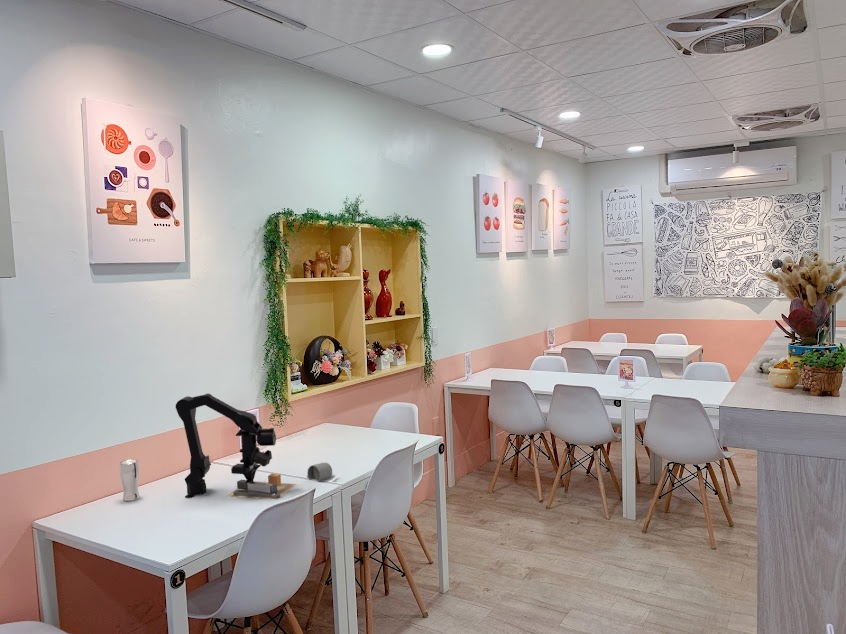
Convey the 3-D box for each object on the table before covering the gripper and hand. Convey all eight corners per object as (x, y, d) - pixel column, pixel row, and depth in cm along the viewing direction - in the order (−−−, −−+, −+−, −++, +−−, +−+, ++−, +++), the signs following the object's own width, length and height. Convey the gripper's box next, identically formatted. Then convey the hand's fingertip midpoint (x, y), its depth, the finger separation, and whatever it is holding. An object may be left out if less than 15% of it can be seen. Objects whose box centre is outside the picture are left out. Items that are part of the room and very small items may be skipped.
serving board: (225, 499, 253) (225, 496, 253) (249, 483, 270) (249, 481, 270) (277, 502, 248) (276, 499, 247) (297, 486, 265) (297, 484, 265)
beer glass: (133, 502, 252) (131, 464, 251) (117, 501, 254) (115, 464, 253) (144, 496, 259) (142, 459, 258) (129, 495, 261) (126, 458, 260)
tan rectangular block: (268, 485, 264) (268, 475, 263) (272, 483, 267) (271, 473, 266) (277, 486, 263) (277, 476, 262) (280, 483, 266) (280, 474, 265)
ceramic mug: (334, 479, 273) (333, 461, 272) (320, 485, 266) (319, 466, 266) (316, 476, 279) (315, 458, 279) (302, 481, 272) (301, 463, 272)
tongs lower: (281, 495, 252) (281, 483, 251) (277, 498, 248) (276, 486, 248) (237, 492, 256) (237, 480, 256) (232, 495, 253) (232, 483, 253)
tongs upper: (274, 491, 252) (274, 483, 252) (270, 493, 250) (269, 486, 249) (241, 486, 258) (241, 479, 258) (237, 488, 256) (236, 481, 256)
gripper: (255, 453, 246) (257, 493, 247) (278, 440, 264) (280, 478, 265) (229, 452, 249) (231, 492, 250) (253, 439, 267) (255, 476, 268)
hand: (250, 484), depth 258 cm, fingers closed
